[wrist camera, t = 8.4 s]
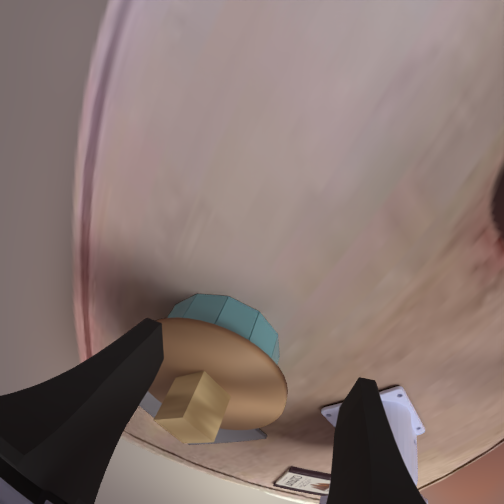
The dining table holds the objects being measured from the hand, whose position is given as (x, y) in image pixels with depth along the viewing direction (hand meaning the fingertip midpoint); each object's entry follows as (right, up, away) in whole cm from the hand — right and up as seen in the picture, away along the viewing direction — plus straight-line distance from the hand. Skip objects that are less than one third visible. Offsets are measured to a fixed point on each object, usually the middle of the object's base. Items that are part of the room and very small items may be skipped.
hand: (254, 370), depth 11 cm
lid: (-3, -5, +12) cm, 13 cm away
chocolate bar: (+13, -30, +27) cm, 42 cm away
